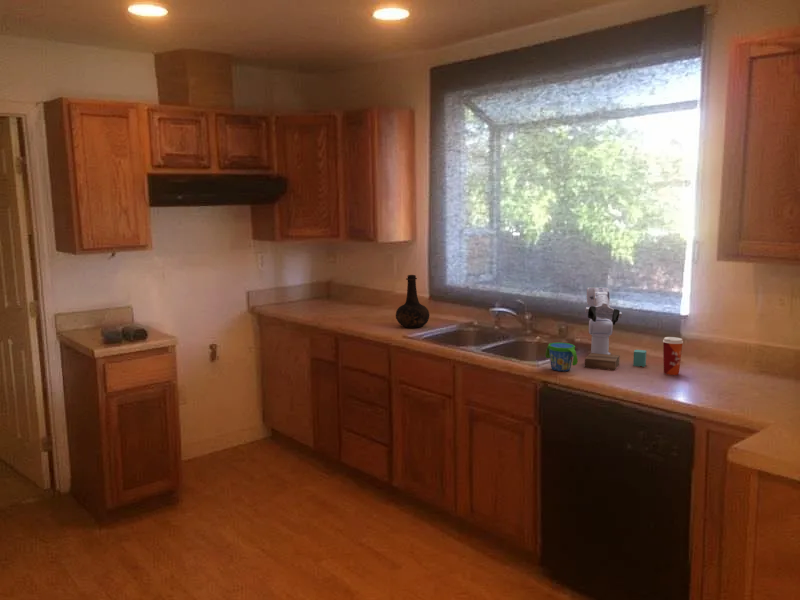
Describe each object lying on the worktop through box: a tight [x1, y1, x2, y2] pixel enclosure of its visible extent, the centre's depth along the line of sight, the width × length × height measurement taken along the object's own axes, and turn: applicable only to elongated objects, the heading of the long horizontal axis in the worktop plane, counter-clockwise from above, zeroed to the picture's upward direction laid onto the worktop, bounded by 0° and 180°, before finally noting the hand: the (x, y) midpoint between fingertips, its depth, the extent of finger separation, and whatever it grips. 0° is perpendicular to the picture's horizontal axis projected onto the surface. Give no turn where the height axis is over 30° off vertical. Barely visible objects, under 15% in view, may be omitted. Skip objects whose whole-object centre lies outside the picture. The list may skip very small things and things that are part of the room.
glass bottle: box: [395, 274, 430, 329], centre depth 378 cm, size 18×18×28 cm
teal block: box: [632, 349, 647, 368], centre depth 293 cm, size 4×4×6 cm
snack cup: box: [545, 342, 578, 372], centre depth 285 cm, size 16×10×10 cm
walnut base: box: [584, 352, 620, 371], centre depth 293 cm, size 12×12×4 cm
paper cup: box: [662, 336, 684, 376], centre depth 279 cm, size 8×8×14 cm
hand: (604, 321), depth 288 cm, fingers open, 7 cm apart
